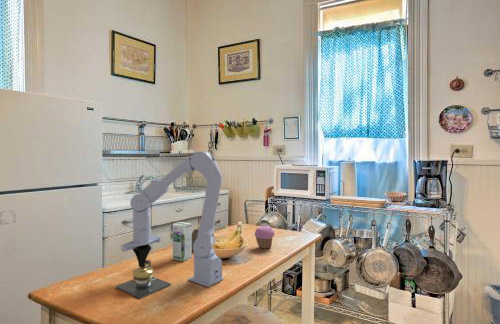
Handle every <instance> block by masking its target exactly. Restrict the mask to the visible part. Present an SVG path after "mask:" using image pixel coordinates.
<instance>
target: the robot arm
mask: <svg viewBox="0 0 500 324" xmlns="http://www.w3.org/2000/svg"><path fill="white" fill-rule="evenodd" d="M192 171H197V172H198V173H200V174H201V175H202V176H203V177H204V178H205V179H206V181H207V183H206V189H205V195H204V200H203V206H202V212H201V219H200V223H199V224H200V225H199V229H198V230H199V232H198V236H197V239H196V241H195V242H194V244H193V250H192V252H193V276H190V277H189V278H188V279H187V281H189V282H190V281H191V282H193V283H196V284H199V285H202V286H203V287H204V286H205V287H211V286H213V285H215V284H217V283H219V282H220V281H223V280H224V277H223V261H222V259H221V258H220V257H219V256H217V255H216V252H215V249H214V248H213V247H214V245H215V242H216V236H215V233H214V232H215V223H216V217H217V210H218V206H219V205H218V204H219V201H220V200H219V199H220V193H221V187H222V180H223V175H222V172H221V170H220V168H219V165H218V163H217V159H216V158H215V157H214V156H213V154H212V153H210V152H209V151H207V150H202V151H196V152H194V153H193V154H192V155H190V156H189V157H187V158H185V159H184V160H182V161H181V162H180V163H178V165H176V166H175V167H174V168H173V169H171V170H170V172H168V174H166V175H165V176H164V177H163V178H159V177H157V178H153V179H151V180H150V183H149V184H148V185H147V186H146V187H145V188H141V189H140V190H139V192H140V193H136V194H134V195H133V196H132V198H131V199H130V201H129V202H130V203H129V204H130V207H131V209H132V240H131V241H129V242H126V243H123V244H121V245H120V248H121V249H120V251H121V252H125V253H126V252H128V251H130V250H132V251H133V252H134V254H135V256H136V259H137V262H138V268H141V267H144V265H145V262H146V260H147V258H148V256H149V253H150V251H151V250H152V246H151V244H155V243H161V236H159V235H155V236H151V206H152V205H153V203H155V202H157V201H158V200H159V199H160V198H161V197H163V196H164V195H165V194H166V193H167V192H169V189H170V187H169V186H170V185H171V184H173V183H174V182H175V181H176V180H178V179H179V178H181V176H183V175H184V174H185V173H187V172H192Z"/></svg>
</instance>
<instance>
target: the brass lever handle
mask: <svg viewBox="0 0 500 324" xmlns="http://www.w3.org/2000/svg"><path fill="white" fill-rule="evenodd" d="M151 263H152V262H151V260H150V259H146V262H145V265H144V267H137V268H135V269H134V270H133V271H132V279H136V280H146V279H149V278H152V277H154V276H155V274H154V271H155V269H154V268H153V267H152V265H151Z"/></svg>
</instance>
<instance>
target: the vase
mask: <svg viewBox="0 0 500 324" xmlns="http://www.w3.org/2000/svg"><path fill="white" fill-rule="evenodd" d="M198 232H199V229H198V228H197V229H196V228H195V229H192V251H193V244H194V242H195V241H196V239H197V236H198Z"/></svg>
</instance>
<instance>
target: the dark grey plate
mask: <svg viewBox="0 0 500 324" xmlns="http://www.w3.org/2000/svg"><path fill="white" fill-rule="evenodd" d="M170 285H171V286H172V283H171V282H168V281H165V280H163V279H160V278H158V277H156V276H155V277H154V276H153V277H152V278H149V279H146V280H136V279H134V278H132V279H129V280H128V281H126V282H122V283H121V284H120V283H119V284H118V285H115V287H116V288H115V287H114V288H115V289H117V288H118V289H117V290H119V289H120V290H119V291H121V290H122V291H121V292H123V291H124V292H123V293H126V294H128V295H130V296H132V295H133V296H132V297H135V298H137V299H139V300H141V299H143V298H146V297H147V295H148V296H150V295H152V294H155V293H157V292H159V291H162V290H164V289H166V288H168V287H171V286H170ZM163 288H164V289H163ZM161 289H162V290H161ZM156 291H157V292H156ZM154 292H155V293H154ZM149 294H150V295H149ZM145 296H146V297H145Z"/></svg>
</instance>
